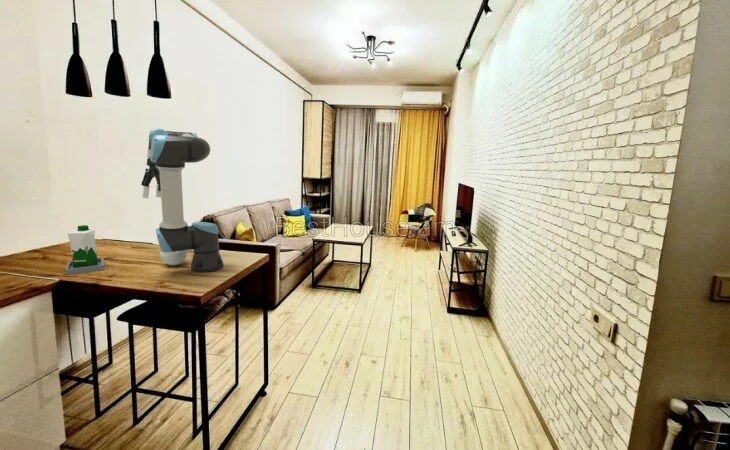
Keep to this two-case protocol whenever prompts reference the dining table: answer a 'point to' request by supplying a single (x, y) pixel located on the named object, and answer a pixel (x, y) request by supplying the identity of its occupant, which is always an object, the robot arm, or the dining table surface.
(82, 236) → the soya milk
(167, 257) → the decorative ball
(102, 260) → the holder tray
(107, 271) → the dining table surface
